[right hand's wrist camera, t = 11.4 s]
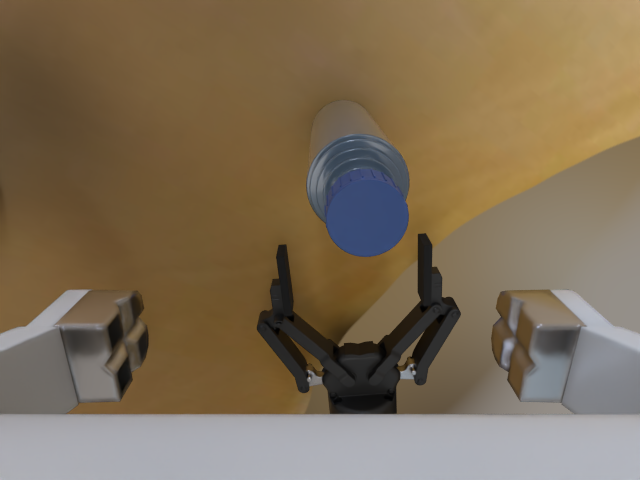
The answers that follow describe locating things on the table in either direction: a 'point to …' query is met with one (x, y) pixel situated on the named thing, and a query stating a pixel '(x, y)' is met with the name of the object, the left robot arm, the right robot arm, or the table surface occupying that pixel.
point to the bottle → (348, 151)
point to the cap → (365, 213)
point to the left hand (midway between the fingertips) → (352, 244)
